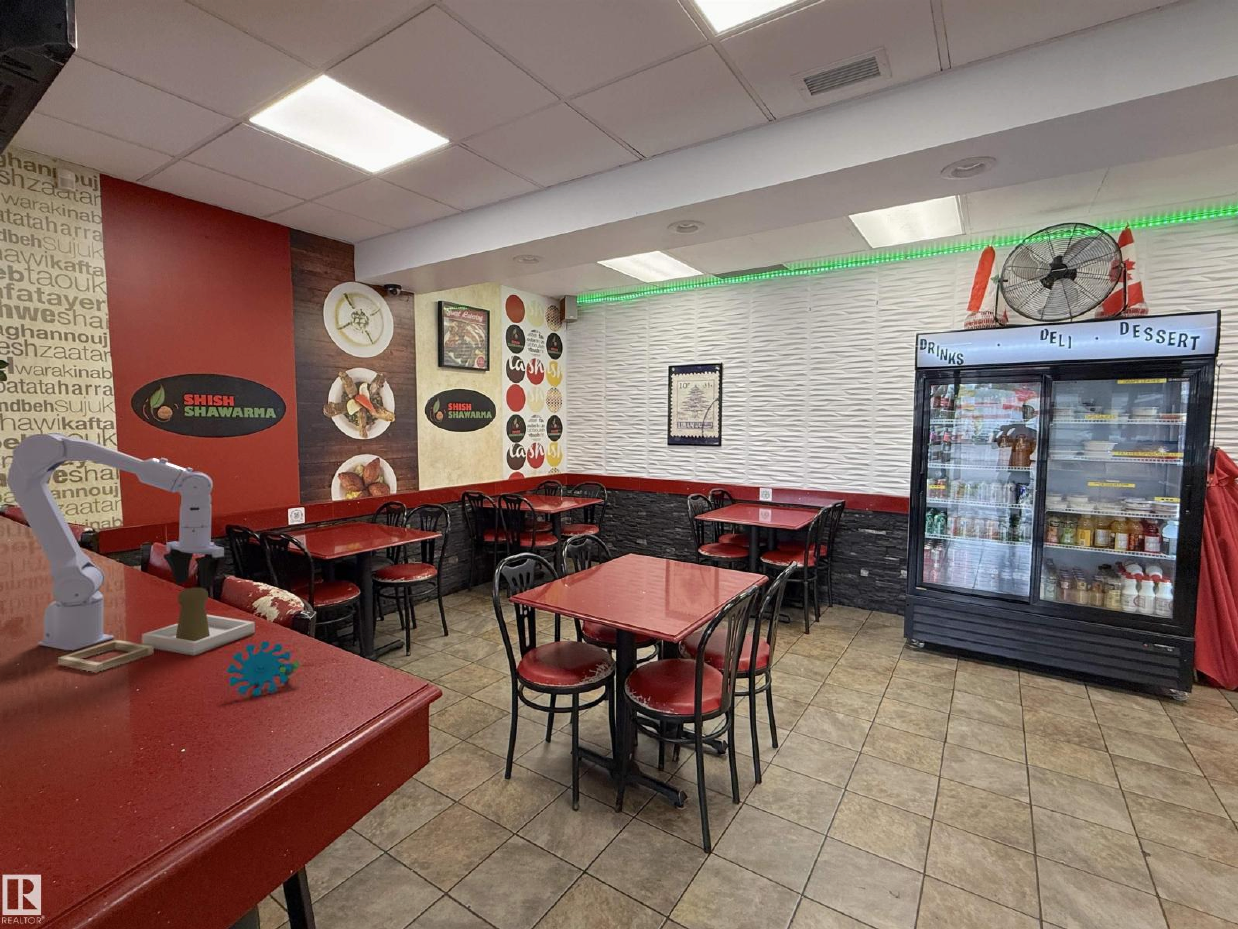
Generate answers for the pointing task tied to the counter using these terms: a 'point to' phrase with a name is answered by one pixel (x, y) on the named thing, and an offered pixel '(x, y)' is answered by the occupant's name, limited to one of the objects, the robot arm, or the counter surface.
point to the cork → (193, 614)
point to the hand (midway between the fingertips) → (194, 585)
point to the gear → (261, 668)
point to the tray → (219, 632)
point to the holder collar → (134, 654)
